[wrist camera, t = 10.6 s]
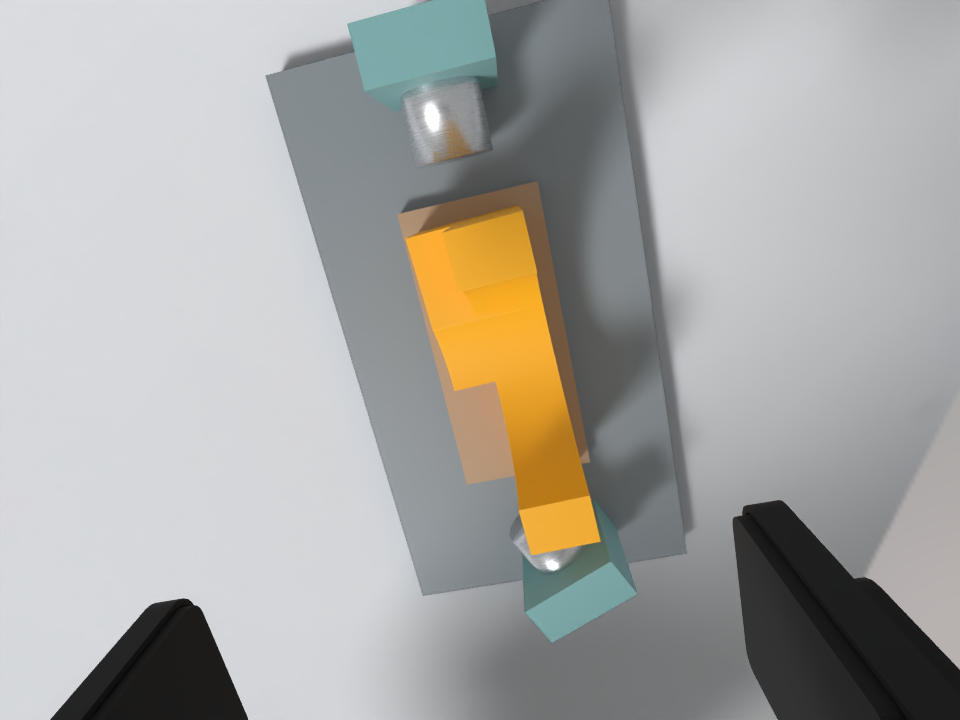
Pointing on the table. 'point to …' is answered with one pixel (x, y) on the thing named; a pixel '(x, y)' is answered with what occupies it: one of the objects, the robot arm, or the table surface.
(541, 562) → the short metal cylinder
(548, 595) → the stand
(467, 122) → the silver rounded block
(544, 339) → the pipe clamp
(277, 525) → the table surface
